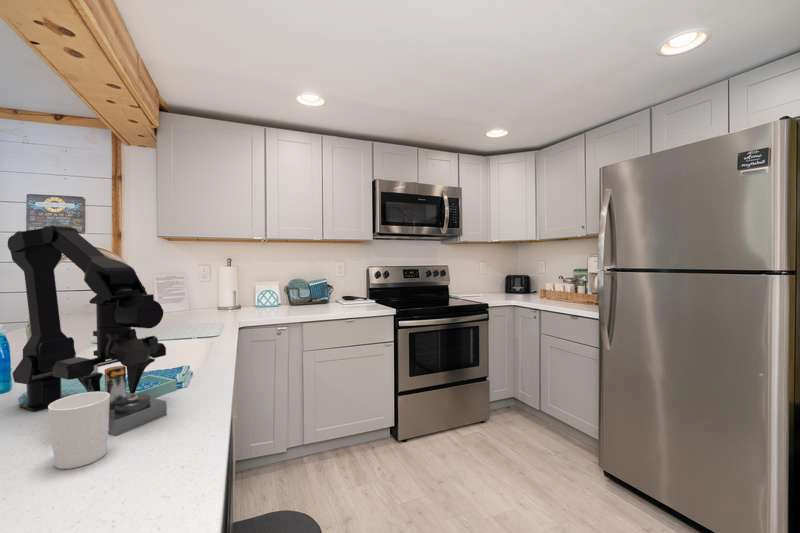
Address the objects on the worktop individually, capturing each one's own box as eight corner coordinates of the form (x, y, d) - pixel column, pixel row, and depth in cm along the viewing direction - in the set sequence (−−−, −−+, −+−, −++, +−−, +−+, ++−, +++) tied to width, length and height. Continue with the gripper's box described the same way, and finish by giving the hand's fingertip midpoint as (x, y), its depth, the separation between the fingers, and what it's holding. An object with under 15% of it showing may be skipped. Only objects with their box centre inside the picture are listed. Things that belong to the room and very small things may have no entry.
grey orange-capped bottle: (101, 419, 77) (100, 369, 76) (119, 412, 80) (119, 365, 80) (112, 422, 75) (111, 371, 75) (130, 415, 79) (129, 367, 78)
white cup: (75, 474, 58) (74, 411, 57) (36, 468, 59) (34, 407, 59) (122, 448, 65) (121, 393, 65) (86, 444, 67) (85, 389, 67)
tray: (107, 397, 88) (107, 387, 88) (150, 384, 98) (149, 374, 98) (134, 404, 84) (134, 393, 84) (176, 389, 94) (176, 379, 94)
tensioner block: (78, 424, 74) (77, 398, 74) (130, 405, 84) (130, 382, 83) (115, 435, 70) (115, 408, 70) (166, 414, 79) (166, 390, 79)
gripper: (85, 338, 65) (87, 424, 66) (182, 320, 83) (183, 389, 83) (50, 332, 70) (52, 413, 70) (149, 317, 87) (150, 382, 87)
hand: (115, 398), depth 78 cm, fingers open, 6 cm apart
